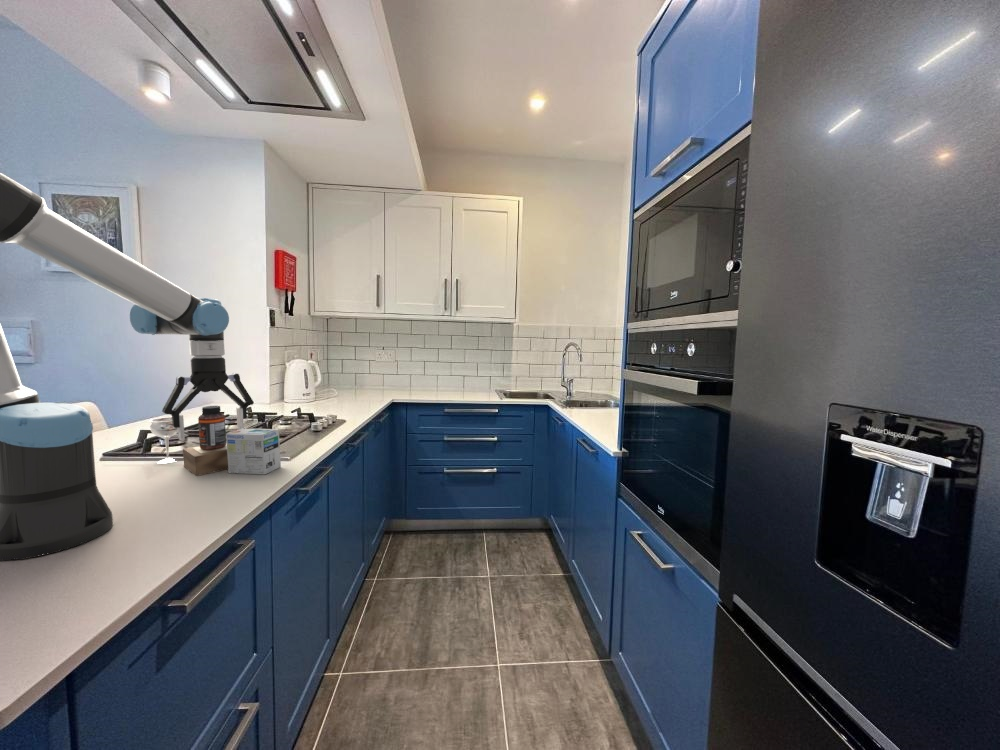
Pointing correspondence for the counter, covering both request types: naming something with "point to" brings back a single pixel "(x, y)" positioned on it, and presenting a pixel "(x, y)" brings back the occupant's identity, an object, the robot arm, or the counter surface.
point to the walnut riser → (205, 460)
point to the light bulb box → (253, 451)
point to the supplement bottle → (212, 428)
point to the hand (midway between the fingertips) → (212, 434)
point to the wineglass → (164, 433)
